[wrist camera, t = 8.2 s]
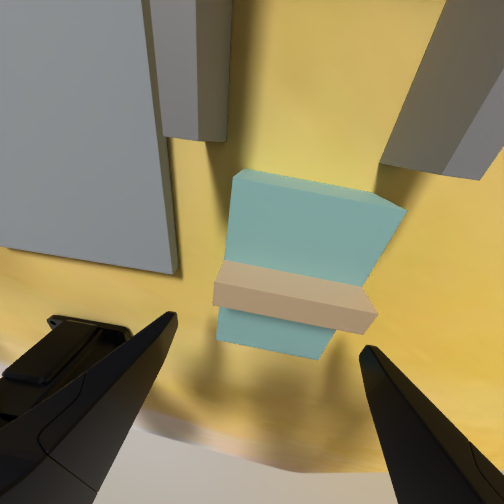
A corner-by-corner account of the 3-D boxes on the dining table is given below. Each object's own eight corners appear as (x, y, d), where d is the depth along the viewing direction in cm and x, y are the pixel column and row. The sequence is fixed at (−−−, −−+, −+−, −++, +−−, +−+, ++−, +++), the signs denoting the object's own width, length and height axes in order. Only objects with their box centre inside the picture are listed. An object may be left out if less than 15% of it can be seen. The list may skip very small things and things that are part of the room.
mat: (178, 267, 12) (172, 274, 11) (-2, 237, 12) (-18, 243, 12) (149, -46, 6) (133, -71, 5) (-201, -84, 6) (-259, -112, 6)
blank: (309, 318, 14) (323, 389, 10) (227, 302, 14) (207, 366, 10) (369, 191, 9) (440, 227, 5) (245, 167, 9) (222, 185, 5)
